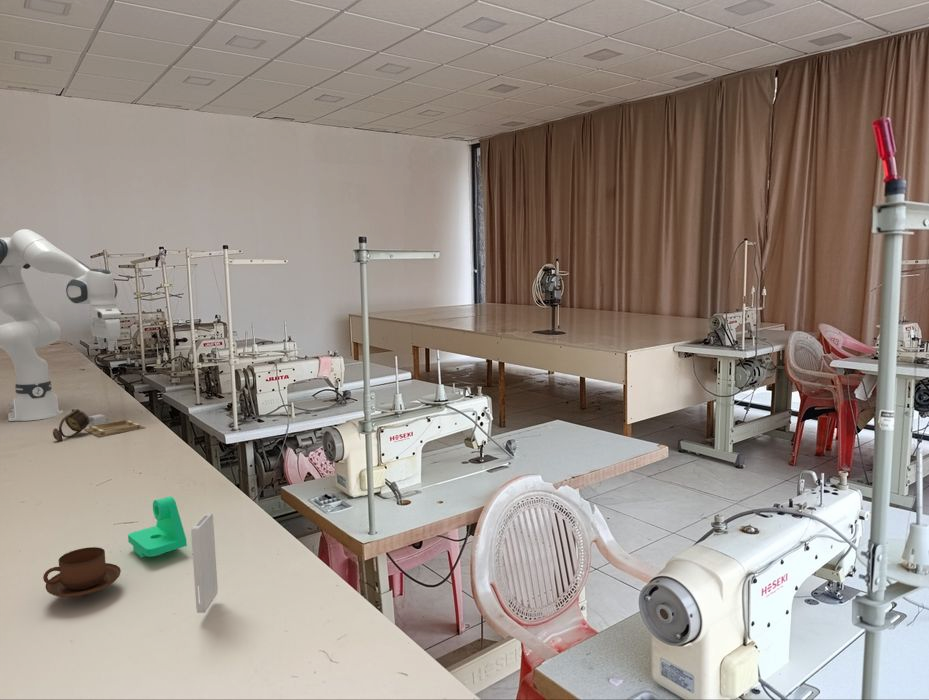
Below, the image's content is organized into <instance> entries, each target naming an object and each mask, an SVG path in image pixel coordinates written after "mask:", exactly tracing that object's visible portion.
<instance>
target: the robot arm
mask: <svg viewBox="0 0 929 700" xmlns="http://www.w3.org/2000/svg"><path fill="white" fill-rule="evenodd" d="M30 268H34V269H35V270H37V271H40V272H43V273H48V274H49V273H50V274H58V275H59V274H60V275H65V276H69V277H72V278H73V279H71V280H69V282H68V283H67V284H66V286H65V287H66V288H65V292H66V296H67V298H68V300H69V301H71V303H73V304H78V305H87V304H88V306H89V314H90V315H89V316H90V318H91V320H90V324H91V325H90V326H91V328H90V329H91V335H92V337H96V340H97V341H96V342H97V344H98V348H99V349H100V350H103V349H106V344H105V339H107V343H108V344H107V350H108V351H115V344H116V340H117V339H120V337H121V320H120V319H121V317H122V314H121V313H122V312H120V310H119V309H118V307H117V302H116V298H117V295H118V287H117V284H116V282H115V279H114V276H113V273H112V271H110V270H107V269H103V268H90V267H89V266H88V265H86V264H85V263H83V262H81V261H80V260H79V259H76V258H75V257H73V256H71V255H70V254H67V253H66V252H64V251H63V250H61V249H59V248H58V247H57V246H55V245H54V244H52V243H51V242H50V241H49V240H47V239H46V238H45V237H43V236H42V235H40V234H38V233H37V232H35V231H33V230H31V229H27V228H23V229H19V230H17V231H16V232H14V233H13V234H12V235H11V236H6V237H0V310H1V312H2V313H3V314H5V315H8V316H9V317H11V318H12V319H13V320H15V321H10V322H5V323H2V324H0V349H1V350H3V351H4V352H5V353H6V354H7V355H8V356H9V357H10V360H11V362H12V364H13V367H14V373H15V380H16V381H15V382H16V383H15V385H14V386H15V387H14V388H15V389H14V390H15V396H14V398H13V401H10V402H9V403H8V409H11V411H10V412H8V413H7V417H8V418H7V419H8V422H18V421H19V422H21V421H23V422H27V421H38V420H45V419H49V418H50V419H51V418H54V417H56V416H58V415H61V414H63V413H64V411H63V410H61V409H59V404H58V396H57V394H56V393H55V392H53V391H52V381H51V380H50V371H49V365H48V361H47V360H46V359H44V358H42V357H40V356H39V355H38V354H37V351H36V348H40V347H41V348H42V347H46V346H49V345H52V344H54V343H56V342H58V341H59V340H60V339H61V335H62V332H61V327H60V325H59V324H58V323H57V322H56V321H55V320H53V319H50V318H49V317H48V316H46V315H45V314H44V313H43V312H42V311H41V310H40V309H39V308H38V307H37V305H36V304H35V302H34V300H33V299H32V297H31V295H30V291H29V290H28V288H27V285H26V282H25V281H24V278H23V275H22V269H25V270H28V269H30Z"/></svg>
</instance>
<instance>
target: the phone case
mask: <svg viewBox="0 0 929 700" xmlns="http://www.w3.org/2000/svg"><path fill="white" fill-rule="evenodd" d="M214 525H215V524H214V514H213V513H204V514H203V515H202V516H201V517H200V519H198V521H196V523H195V524H194V525H193V526H192V528H191V531H190V532H191V533H190V536H191V546H192V547H191V549H192V551H191V552H192V566H193V578H194V581H193V582H194V590H195V591H194V592H195V593H194V594H195V608H196V612H197V613H198V614H205V613H206V612H207V610H208V609H209V607H210V606H211V604H212V603H213V601H214V599H215V598H216V596H217V595H218V588H219V586H218V573H217V572H218V571H217V560H216V559H217V558H216V542H215V541H216V540H215V526H214Z"/></svg>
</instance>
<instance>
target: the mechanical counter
mask: <svg viewBox="0 0 929 700" xmlns="http://www.w3.org/2000/svg"><path fill="white" fill-rule="evenodd" d="M64 422H65V423H66V425H67V427H68V428H69V429H70V430H72V431H73V432H75V433H73V434H71V435H65V434H64V433H63V429H62V428H63V424H64ZM89 423H90V420H89V415H87V413H85V412H84V411H83V410H80V409H78V408H75V409H74V408H73V409H71V412H70V413H68V414H67V415H65V416H64V417H63V418H62V419H61V420H60V423H59V425H58V428H56V427H55V428H54V429H52V435H53V438H54V439H55V440H56V441H58V442H62V441H63V438H67V439H68V438H69V439H70V438H73V437H76V436H77V435H78V434H79V433H81V432H82V431H84V429H87V426H88V425H89Z"/></svg>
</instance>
